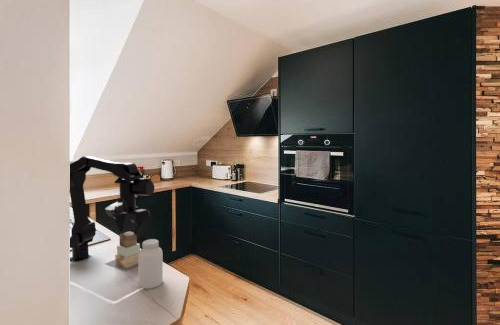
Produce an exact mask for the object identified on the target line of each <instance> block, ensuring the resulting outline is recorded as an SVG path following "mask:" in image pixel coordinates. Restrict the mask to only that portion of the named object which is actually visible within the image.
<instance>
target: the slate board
mask: <svg viewBox="0 0 500 325" xmlns="http://www.w3.org/2000/svg"><path fill="white" fill-rule="evenodd" d="M104 265H106V266H109V267H112V268H114V269H118V270H121V271H123V272H127V271H131V270H132V269H135V268H136V267H138V264H135V265H133V266H131V267H128V268H125V267H122V266H119V265H117V264H115V259H114V260H111V261H108V262H106V263H104Z"/></svg>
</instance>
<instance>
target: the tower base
mask: <svg viewBox="0 0 500 325" xmlns="http://www.w3.org/2000/svg"><path fill="white" fill-rule="evenodd" d="M138 254H139V253H137V254H134V255H132V256H129V257H124V256H121V255H118V254H117V253H115V255H114V257H115V259H114V260H115V264H117V265H119V266H122V267H125V268H128V267H131V266H133V265H135V264H138Z"/></svg>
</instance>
